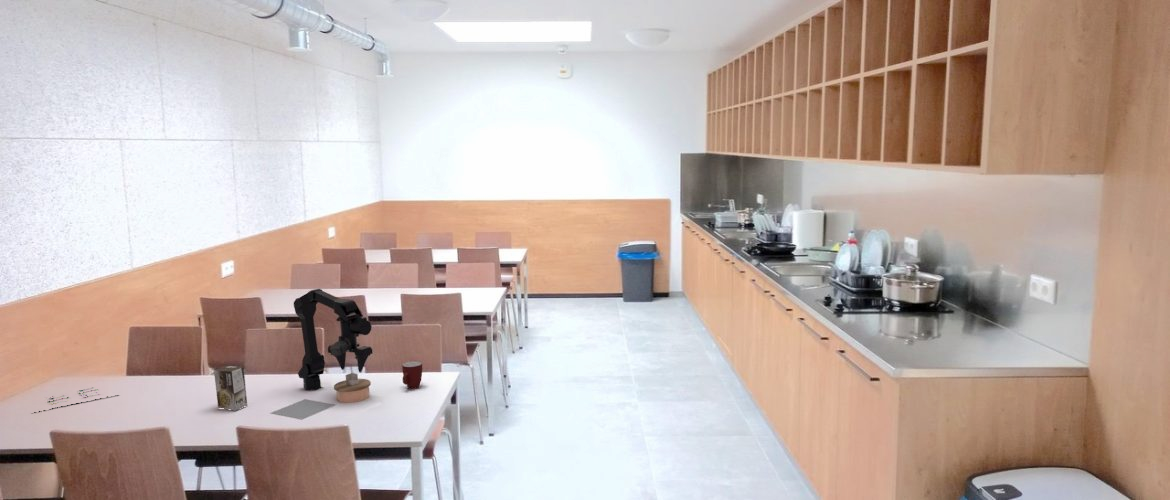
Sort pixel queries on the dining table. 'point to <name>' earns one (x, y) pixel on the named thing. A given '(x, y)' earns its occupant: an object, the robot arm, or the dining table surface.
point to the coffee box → (230, 387)
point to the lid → (352, 383)
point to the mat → (303, 409)
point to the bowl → (353, 395)
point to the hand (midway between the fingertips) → (351, 370)
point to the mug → (412, 374)
